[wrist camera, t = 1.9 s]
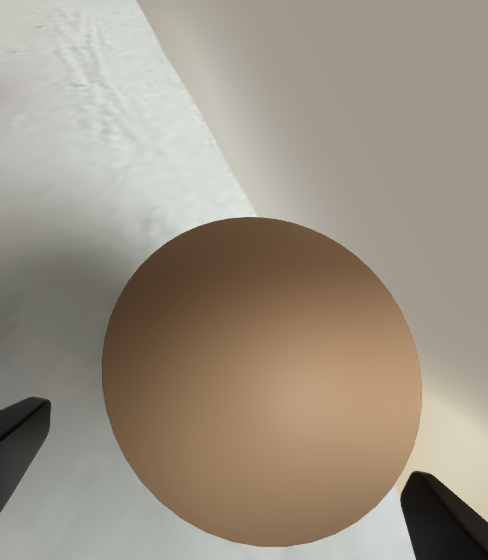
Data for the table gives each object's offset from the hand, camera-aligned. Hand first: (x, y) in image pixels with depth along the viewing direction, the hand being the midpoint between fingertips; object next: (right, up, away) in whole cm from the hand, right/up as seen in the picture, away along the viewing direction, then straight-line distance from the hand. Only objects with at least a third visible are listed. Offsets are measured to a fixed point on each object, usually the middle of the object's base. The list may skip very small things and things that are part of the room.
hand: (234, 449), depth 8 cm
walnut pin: (-1, -3, +10) cm, 10 cm away
